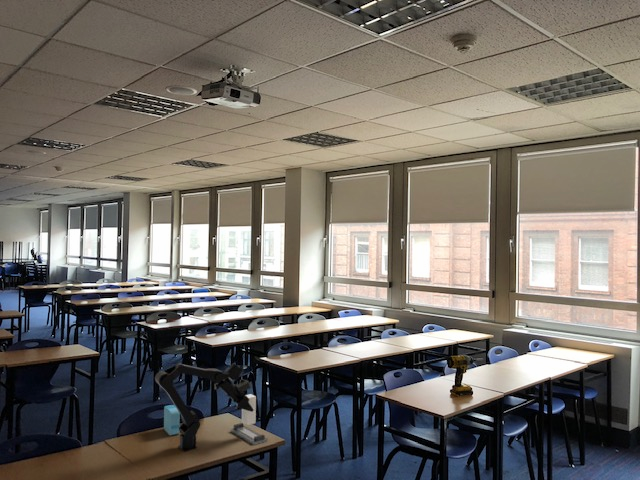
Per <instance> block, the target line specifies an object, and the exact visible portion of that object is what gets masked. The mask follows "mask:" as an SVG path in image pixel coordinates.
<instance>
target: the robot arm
mask: <svg viewBox="0 0 640 480" xmlns="http://www.w3.org/2000/svg"><path fill="white" fill-rule="evenodd" d="M243 373H244V370H243V368H241V367H239V366H238V365H237V364H236V363H235V362H232V363H231V365H230V366H229V368H228V369H227V370H220V369H217V368H213V367H212V368H210V367H208V368H202V367H197V366H193V365H188V364H183V363H180V362H179V363H176V364H174V365H173V366H170V367H167V368H166V369H164V370H161V371H159V372H157V373H156V374H155V376H154V380H155V382H156V383H157V384H158V386H160V387H161V389H163V390H164V391H165V393H166V394H167V395H168V397H169V399H170V401H172V404H173V405H174V406H175V407H176V408H177V410H178V411H179V413H180V419H181V421H182V424H180V425H179V445H178V448H179V449H180V450H181V451H183V452H187V451H189V450H193V449H197V447H198V446H197V433H198V430H199V429H200V426H201V419H200V418H199V417H198V415H197V413H195V412H194V410H192V409H191V410H190V409H189V408H188V406H187V405H186V404H185V402H184V400H183V399H182V397H181V396H180V394H179V393H178V391H177V388H176V387H175V383H174V381H175V380H176V379H177V378H178V377H179V376H180V375H182V374H184V375H190V376H193V377H198V378H204V379H206V380H209V381H211V382H213V383H214V390H216V391H218V390H219V389H221V390H222V392H224V393H225V394H226V396H227V397H228V398H230V399H231V400H232V401H233V402H234V403H236V404H235V405H236V407H237V408H238V409H239V410H241V411H242V409H244V410H248V411H251V412H253V408H252V407H251V405H250V404H249V398H248V397H247V396H246V395H247V394H245V392H246V391H247V390H250V389H251V388H252V386H251V384H250V382H249V380H248V379H243V378H241V379H240V380H239V383H238V384H236V383H233V382H234V381H237V380H238V379H239V378H240V377H241V375H242V374H243Z"/></svg>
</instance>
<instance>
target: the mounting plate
mask: <svg viewBox="0 0 640 480" xmlns="http://www.w3.org/2000/svg"><path fill="white" fill-rule="evenodd" d="M230 432H231V433H232V434H234V435H235V436H237V437H239V438H241V439H242V440H244V441H246V442H248V443H249V444H250V445H252V446H255V445H259V444H262V442H263V443H265V442H268V440H269V438H267V437H266V435H265V434H260V433H259V432H256V431H254V430H253V429H251V428H250V427H247V425H245V424H244V423H242V422H240V423H236V424H233V428H230ZM258 443H259V444H258Z"/></svg>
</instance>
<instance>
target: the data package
mask: <svg viewBox="0 0 640 480" xmlns="http://www.w3.org/2000/svg"><path fill="white" fill-rule="evenodd" d="M180 419H181V414H180V413H179V411H178V410H177V408H176V407H175V405H174V404H169V405H165V406H164V407H163V429H164V431H165V432H166V433H167V434H168V436H175V435H180V431H179V427H180Z"/></svg>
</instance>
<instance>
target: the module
mask: <svg viewBox="0 0 640 480" xmlns="http://www.w3.org/2000/svg"><path fill="white" fill-rule="evenodd" d="M245 395H246V396H247V397H248V398H249V404H250V405H251V407H252V408H253V412H251V411H248V410H244V409H241V423H243V424H244V426H250V425H254V424H256V421H257V420H256V418H257V417H256V416H257V412H256V411H257V396H256V395H254V394H252V393H249V394H245Z"/></svg>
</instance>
